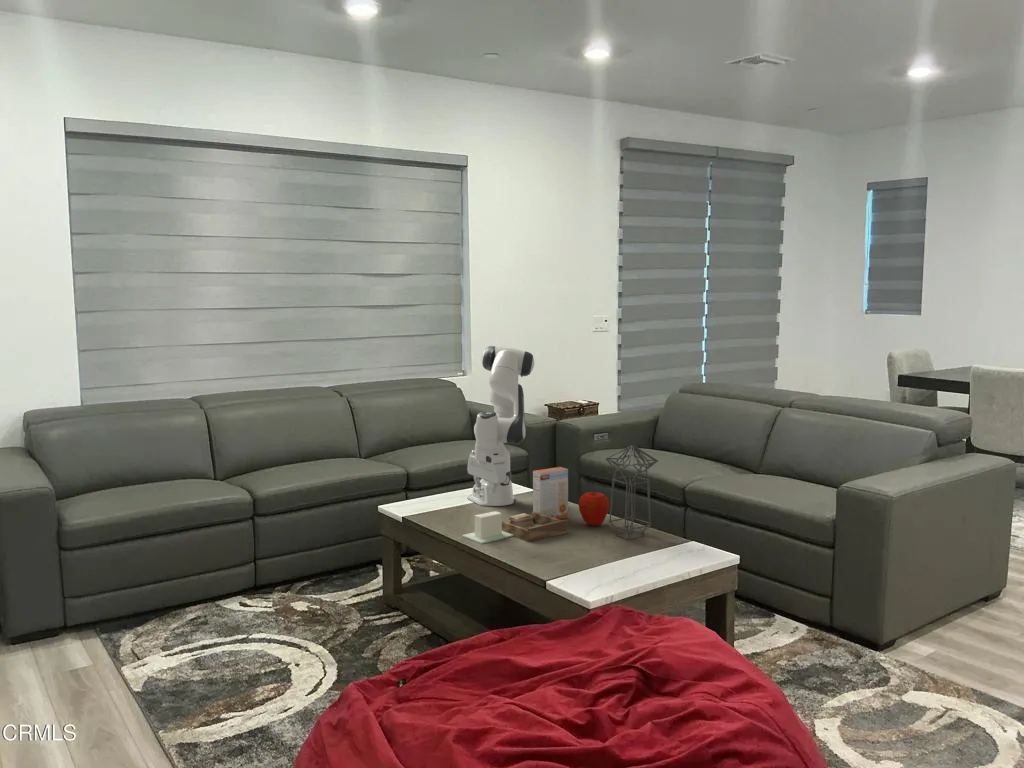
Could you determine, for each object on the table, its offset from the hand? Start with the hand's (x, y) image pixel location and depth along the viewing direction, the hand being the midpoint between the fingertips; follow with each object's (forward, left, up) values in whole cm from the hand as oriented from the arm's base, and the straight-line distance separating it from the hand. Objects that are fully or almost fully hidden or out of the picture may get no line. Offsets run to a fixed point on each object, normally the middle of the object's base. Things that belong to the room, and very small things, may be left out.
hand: (485, 490), depth 327 cm
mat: (+1, +1, -18) cm, 18 cm away
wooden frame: (+6, +18, -18) cm, 26 cm away
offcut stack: (-1, +18, -18) cm, 26 cm away
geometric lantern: (+34, +44, -18) cm, 59 cm away
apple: (+15, +43, -18) cm, 49 cm away
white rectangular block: (+1, +1, -17) cm, 17 cm away
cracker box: (-2, +35, -18) cm, 40 cm away
